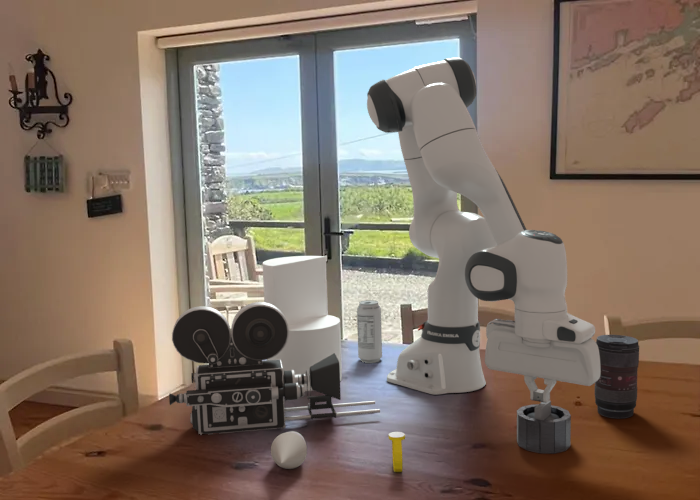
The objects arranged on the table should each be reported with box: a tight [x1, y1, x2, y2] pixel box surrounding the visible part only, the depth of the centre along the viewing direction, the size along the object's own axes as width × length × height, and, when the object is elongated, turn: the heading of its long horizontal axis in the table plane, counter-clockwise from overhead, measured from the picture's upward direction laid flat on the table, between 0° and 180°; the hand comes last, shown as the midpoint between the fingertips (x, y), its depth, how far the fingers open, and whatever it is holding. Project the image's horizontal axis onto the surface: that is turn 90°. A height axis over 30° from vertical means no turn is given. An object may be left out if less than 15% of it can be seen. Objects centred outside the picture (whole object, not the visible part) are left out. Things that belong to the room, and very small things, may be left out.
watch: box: [387, 431, 406, 473], centre depth 123 cm, size 6×3×6 cm, turn 0°
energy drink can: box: [356, 299, 383, 364], centre depth 188 cm, size 6×6×15 cm
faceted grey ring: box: [516, 403, 572, 455], centre depth 132 cm, size 9×9×6 cm
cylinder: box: [262, 255, 343, 392], centre depth 172 cm, size 17×17×28 cm
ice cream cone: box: [270, 430, 308, 470], centre depth 124 cm, size 6×6×15 cm
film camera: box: [168, 301, 381, 436], centre depth 145 cm, size 40×12×24 cm, turn 99°
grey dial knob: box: [527, 400, 559, 420], centre depth 131 cm, size 6×6×4 cm
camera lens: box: [594, 334, 640, 419], centre depth 146 cm, size 8×8×15 cm
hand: (540, 400), depth 131 cm, fingers closed
